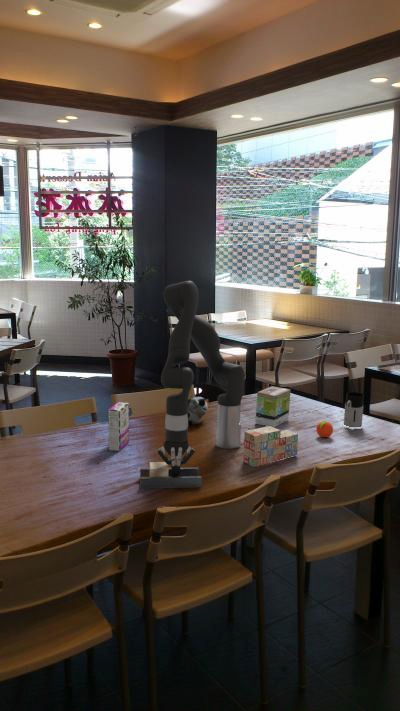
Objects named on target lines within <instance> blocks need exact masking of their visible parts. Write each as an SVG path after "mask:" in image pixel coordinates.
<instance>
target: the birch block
mask: <svg viewBox="0 0 400 711" xmlns="http://www.w3.org/2000/svg"><path fill="white" fill-rule="evenodd" d="M149 468H150V477H168V471H169V468H170V467H169V465H167V464H166V462H165V461H150V462H149Z"/></svg>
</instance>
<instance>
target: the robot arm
mask: <svg viewBox="0 0 400 711" xmlns="http://www.w3.org/2000/svg"><path fill="white" fill-rule="evenodd" d="M162 294H163V298H164V301H165V303H166V306H167V307H168V309H169V311H171V313H172V314H173V316H175V318H177V320H178V321H177V323H176V324H175V326H174V327H173V329H172V331H171V334H170V337H169V339H168V340H169V341H168V355H167V359H166V361H165V365H164V367H163V369H162V372H161V376H160V382H161V385H162V386H163V387H164V388H166V389H174V390H175V389H176V390H177V389H178V390H180V389H181V391H180V392H179V393H174V394H173V393H172V394H170V395H168V396H167V397H166V402H165V403H166V404H165V407H166V409H165V420H164V442H163V446H161V447H158V448H157V454H158V455H159V456H160V458H161V459H162V460H163V462H166V464H167V465H168V466H171V467H170V468H171V473H172V475H173V476H178V475H180V468H181V466H182V465H186V463H187V462H188V461H189V460H190V458H192V456H193V455H194V454H195V453H196V451H195V450H196V449H195V448H194V447H191V446H190V443H189V442H188V437H189V436H188V435H189V423H188V415H187V411H188V404H189V397H190V392H191V388H192V386H193V384H194V379H195V375H194V371H193V369H192V368H190V367H185V366H184V367H183V366H182V367H181V366H178V365H182V364H186V363H187V362H188V361H189V360H190V356H191V355H190V354H191V353H190V352H191V350H190V349H191V342H192V343H193V344H194V346H195V347H196V349H197V350H198V351H199V353H200V354H201V356H202V357H203V360H204V361H205V363H206V365H207V366H208V369H209V371H210V372H211V375H212V377H213V379H214V381H215V382H216V383H217V384H218V385H221V386H223V387H226V393H222V394H221V393H220V394H219V395H218V396H217V400H216V401H217V403H216V407H217V408H216V432H215V434H216V435H215V445H216V447H218V448H221V449H226V450H227V449H229V450H232V449H236V448H241V434H242V424H241V409H242V408H241V406H242V399H243V396H244V389H245V388H244V387H245V370H244V368H243V366H242V365H240V364H236V363H230V362H228V361H226V360H225V359H224V357H223V356H222V354H221V352H220V349H221V338H220V337H219V335H218V332H217V331H216V329H215V328H214V326H213V325H212V324H211V323H210V322H209V321H207V320H206V319H205V318H202V317H201V316H199V315H197V314H196V313H197V310H198V305H199V298H200V297H199V289H198V287H197V285H196V284H195V282H193V280H185V281H181V282H178V283H177V282H176V283H172V284H169V285H167V286H166V287H165V288H164V289H163V292H162ZM166 453H167V454H168V455H169V456H170V459H169V457H168V456H167V455H166ZM185 453H186V454H185ZM184 454H185V455H184ZM183 455H184V456H183ZM182 456H183V457H182Z"/></svg>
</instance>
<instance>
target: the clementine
mask: <svg viewBox="0 0 400 711" xmlns="http://www.w3.org/2000/svg"><path fill="white" fill-rule="evenodd" d="M333 433H334V427H333V425H332V424H331V423H330V422H329V421H327V420H322V421H320V422H318V424H317V425H316V434H317V436H319V437H320V436H321V438H323V437H327V438H329V437H331V436H332V435H333Z"/></svg>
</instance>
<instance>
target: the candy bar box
mask: <svg viewBox="0 0 400 711" xmlns="http://www.w3.org/2000/svg"><path fill="white" fill-rule="evenodd" d="M129 407H130V406H129V402H125V401H124V402H121V401H117V402H116V403H115V404H114V405H113V406H111V407H110V408H108V409H107V410H108V413H107V416H108V417H107V418H108V419H107V420H108V422H107V425H108V451H112V452H113V451H114V452H121V451H123V449H124V448H125V446H126V445H128V444H129V443H130V423H129V422H130V413H129V412H130V409H129Z"/></svg>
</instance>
